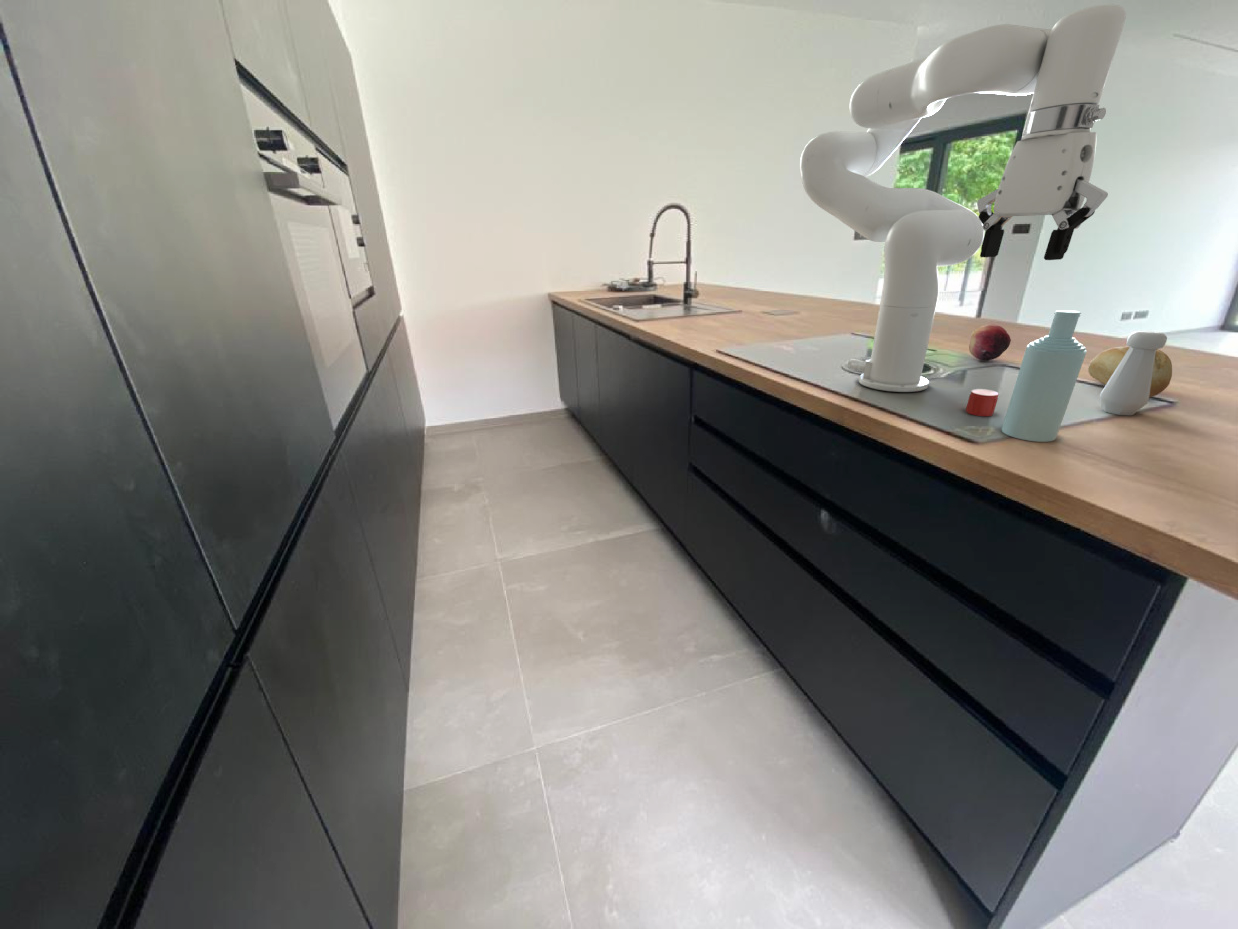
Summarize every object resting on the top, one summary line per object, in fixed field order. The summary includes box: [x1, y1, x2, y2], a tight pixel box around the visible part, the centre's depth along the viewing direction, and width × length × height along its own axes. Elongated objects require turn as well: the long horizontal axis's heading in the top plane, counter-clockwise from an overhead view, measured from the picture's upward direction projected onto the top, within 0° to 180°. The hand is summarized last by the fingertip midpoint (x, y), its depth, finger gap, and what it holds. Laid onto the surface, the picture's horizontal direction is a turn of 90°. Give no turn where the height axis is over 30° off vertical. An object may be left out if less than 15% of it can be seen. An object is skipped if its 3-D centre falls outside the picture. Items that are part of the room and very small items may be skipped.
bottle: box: [1001, 309, 1088, 443], centre depth 72 cm, size 7×7×18 cm
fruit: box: [968, 324, 1012, 362], centre depth 115 cm, size 8×8×8 cm
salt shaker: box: [1099, 330, 1168, 416], centre depth 80 cm, size 6×6×13 cm
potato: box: [1087, 345, 1173, 398], centre depth 92 cm, size 10×15×8 cm, turn 166°
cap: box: [965, 388, 999, 417], centre depth 84 cm, size 4×4×4 cm
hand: (1018, 258), depth 77 cm, fingers open, 9 cm apart
